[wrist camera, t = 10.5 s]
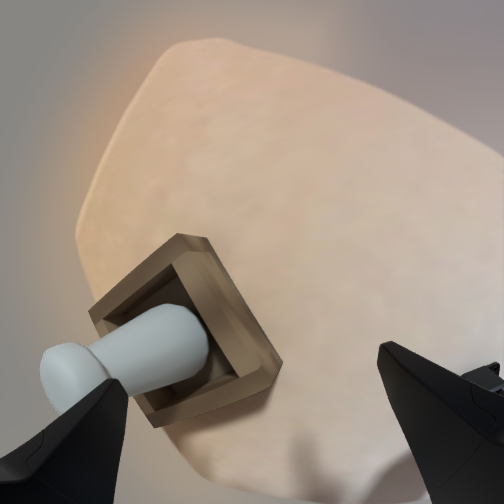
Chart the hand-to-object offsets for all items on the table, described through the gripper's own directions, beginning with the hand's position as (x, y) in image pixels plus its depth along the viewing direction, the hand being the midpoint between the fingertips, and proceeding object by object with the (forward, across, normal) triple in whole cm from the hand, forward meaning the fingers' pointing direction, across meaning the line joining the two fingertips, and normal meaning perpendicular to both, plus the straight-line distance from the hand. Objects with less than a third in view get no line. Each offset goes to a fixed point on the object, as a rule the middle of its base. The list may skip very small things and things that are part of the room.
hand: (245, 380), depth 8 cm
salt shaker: (+12, +6, +6) cm, 14 cm away
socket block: (+12, +6, +6) cm, 15 cm away
